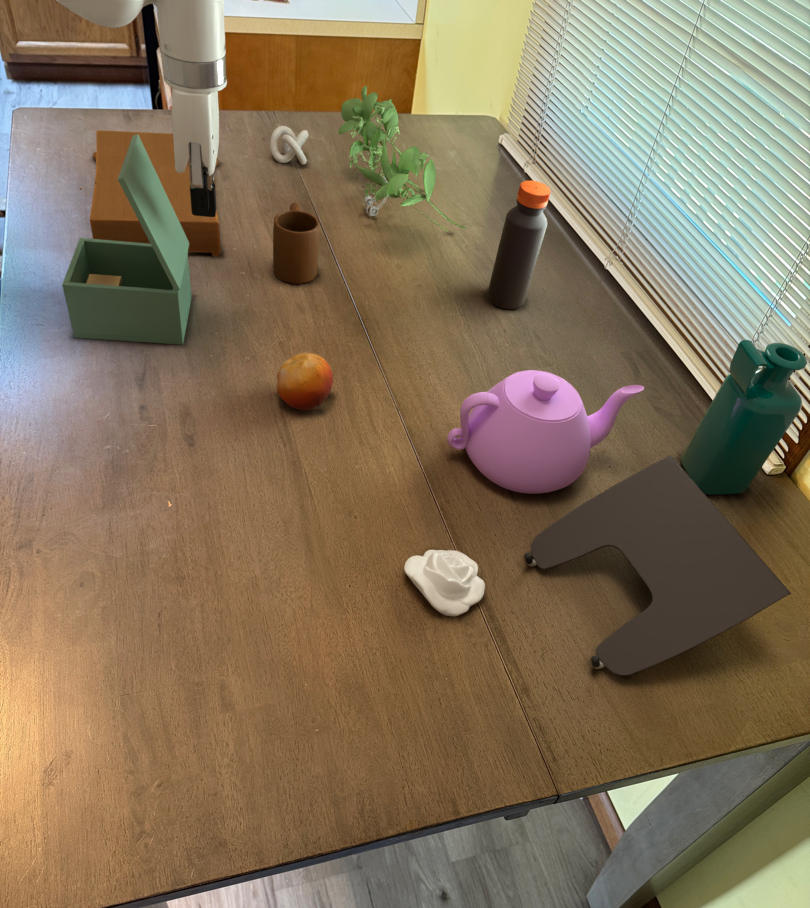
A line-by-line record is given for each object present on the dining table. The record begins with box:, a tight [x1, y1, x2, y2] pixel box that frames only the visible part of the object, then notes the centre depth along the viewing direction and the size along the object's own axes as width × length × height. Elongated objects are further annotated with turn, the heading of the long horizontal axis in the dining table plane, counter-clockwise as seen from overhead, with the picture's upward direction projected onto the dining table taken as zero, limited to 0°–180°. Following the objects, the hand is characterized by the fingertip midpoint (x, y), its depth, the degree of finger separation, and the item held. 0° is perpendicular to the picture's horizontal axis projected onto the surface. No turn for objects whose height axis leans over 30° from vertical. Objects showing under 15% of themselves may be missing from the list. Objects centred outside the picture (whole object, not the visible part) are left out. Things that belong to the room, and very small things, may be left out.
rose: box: [403, 549, 486, 617], centre depth 92 cm, size 10×4×10 cm
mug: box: [272, 202, 321, 285], centre depth 130 cm, size 12×8×9 cm, turn 7°
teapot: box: [446, 369, 645, 495], centre depth 105 cm, size 25×18×14 cm
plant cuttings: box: [337, 85, 467, 233], centre depth 145 cm, size 35×17×22 cm
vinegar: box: [486, 180, 551, 310], centre depth 128 cm, size 7×7×20 cm
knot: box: [269, 125, 309, 165], centre depth 156 cm, size 8×8×6 cm
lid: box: [118, 134, 189, 291], centre depth 107 cm, size 16×13×1 cm
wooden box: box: [89, 129, 222, 257], centre depth 138 cm, size 23×6×35 cm
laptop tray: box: [523, 454, 792, 677], centre depth 94 cm, size 23×23×9 cm
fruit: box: [276, 352, 334, 411], centre depth 110 cm, size 8×8×8 cm
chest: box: [61, 237, 193, 346], centre depth 115 cm, size 16×13×9 cm
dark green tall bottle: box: [680, 339, 808, 496], centre depth 105 cm, size 10×8×22 cm
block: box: [86, 274, 123, 286], centre depth 116 cm, size 5×5×5 cm
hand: (204, 213), depth 107 cm, fingers closed
